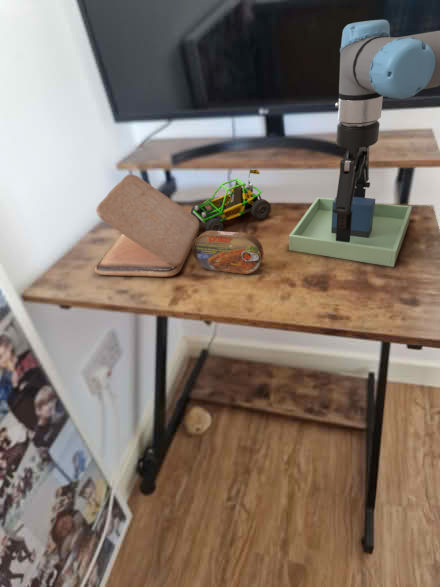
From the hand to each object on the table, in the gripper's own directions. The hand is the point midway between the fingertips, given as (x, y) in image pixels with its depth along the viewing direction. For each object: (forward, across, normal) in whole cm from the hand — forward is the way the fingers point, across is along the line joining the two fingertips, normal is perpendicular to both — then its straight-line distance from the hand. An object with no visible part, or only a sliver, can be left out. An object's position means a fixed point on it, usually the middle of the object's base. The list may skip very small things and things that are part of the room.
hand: (350, 228), depth 87 cm
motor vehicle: (+2, -2, -30) cm, 30 cm away
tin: (+3, +18, -20) cm, 28 cm away
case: (+3, +18, -41) cm, 45 cm away
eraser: (+2, -2, 0) cm, 3 cm away
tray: (+2, -1, 0) cm, 3 cm away
